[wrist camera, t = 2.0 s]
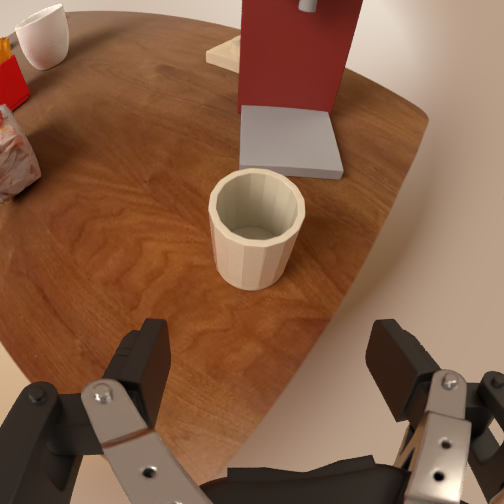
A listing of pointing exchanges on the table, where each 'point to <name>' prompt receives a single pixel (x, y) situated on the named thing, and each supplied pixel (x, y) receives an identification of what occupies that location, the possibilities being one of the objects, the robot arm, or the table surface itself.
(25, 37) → the mug
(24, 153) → the food item
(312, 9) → the coffee maker
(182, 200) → the table surface
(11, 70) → the french fries container
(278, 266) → the cream cup
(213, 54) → the brew pad
